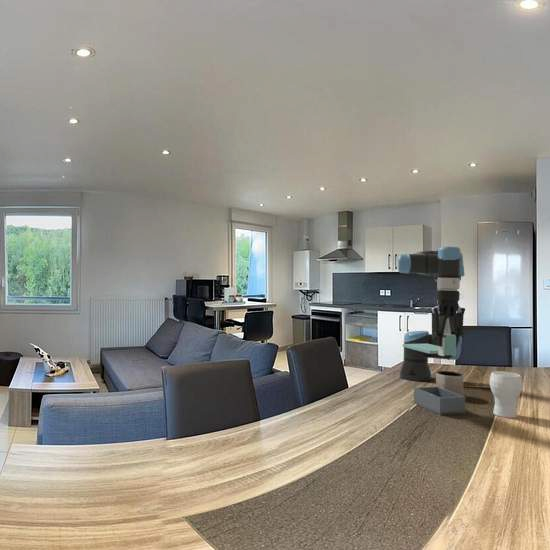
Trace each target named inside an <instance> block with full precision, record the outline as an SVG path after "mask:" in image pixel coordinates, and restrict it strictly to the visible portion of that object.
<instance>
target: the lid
mask: <svg viewBox="0 0 550 550" xmlns="http://www.w3.org/2000/svg"><path fill="white" fill-rule="evenodd" d="M443 337H444V338H445V355H455V354H456V335H452V334H444V335H443ZM402 347H403V348H404V347H406V348H410V349H414V350H418V351H421V352H425V353H429V354H435V353H438V346H436V345H432V344H404V343H403V344H402Z"/></svg>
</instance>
